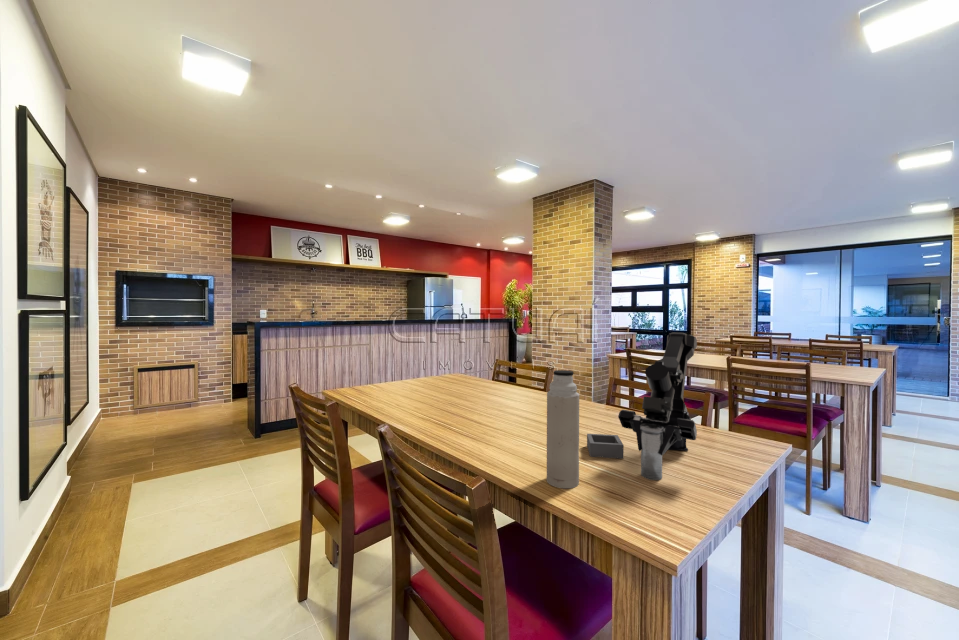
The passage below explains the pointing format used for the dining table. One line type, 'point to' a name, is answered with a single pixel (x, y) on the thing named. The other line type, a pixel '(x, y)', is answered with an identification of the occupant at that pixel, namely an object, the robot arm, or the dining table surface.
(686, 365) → the robot arm
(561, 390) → the thermos bottle
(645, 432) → the pipe
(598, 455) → the gray square tray
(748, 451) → the dining table surface
